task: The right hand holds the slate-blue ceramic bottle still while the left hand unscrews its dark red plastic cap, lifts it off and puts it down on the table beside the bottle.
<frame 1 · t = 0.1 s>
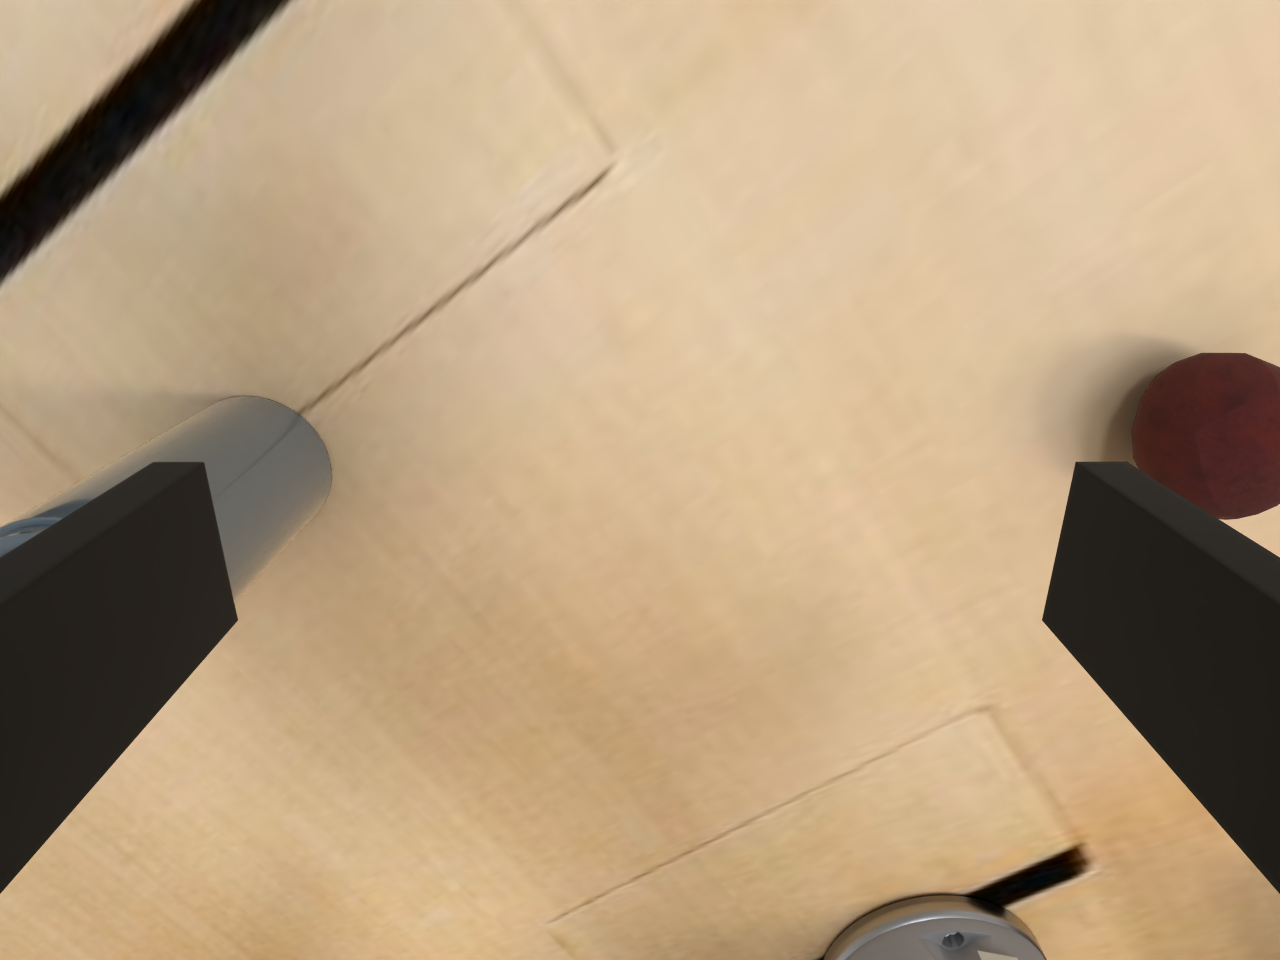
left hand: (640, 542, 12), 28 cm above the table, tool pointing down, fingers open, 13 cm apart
bottle: (259, 465, 42), on the table
potato: (1173, 410, 41), on the table
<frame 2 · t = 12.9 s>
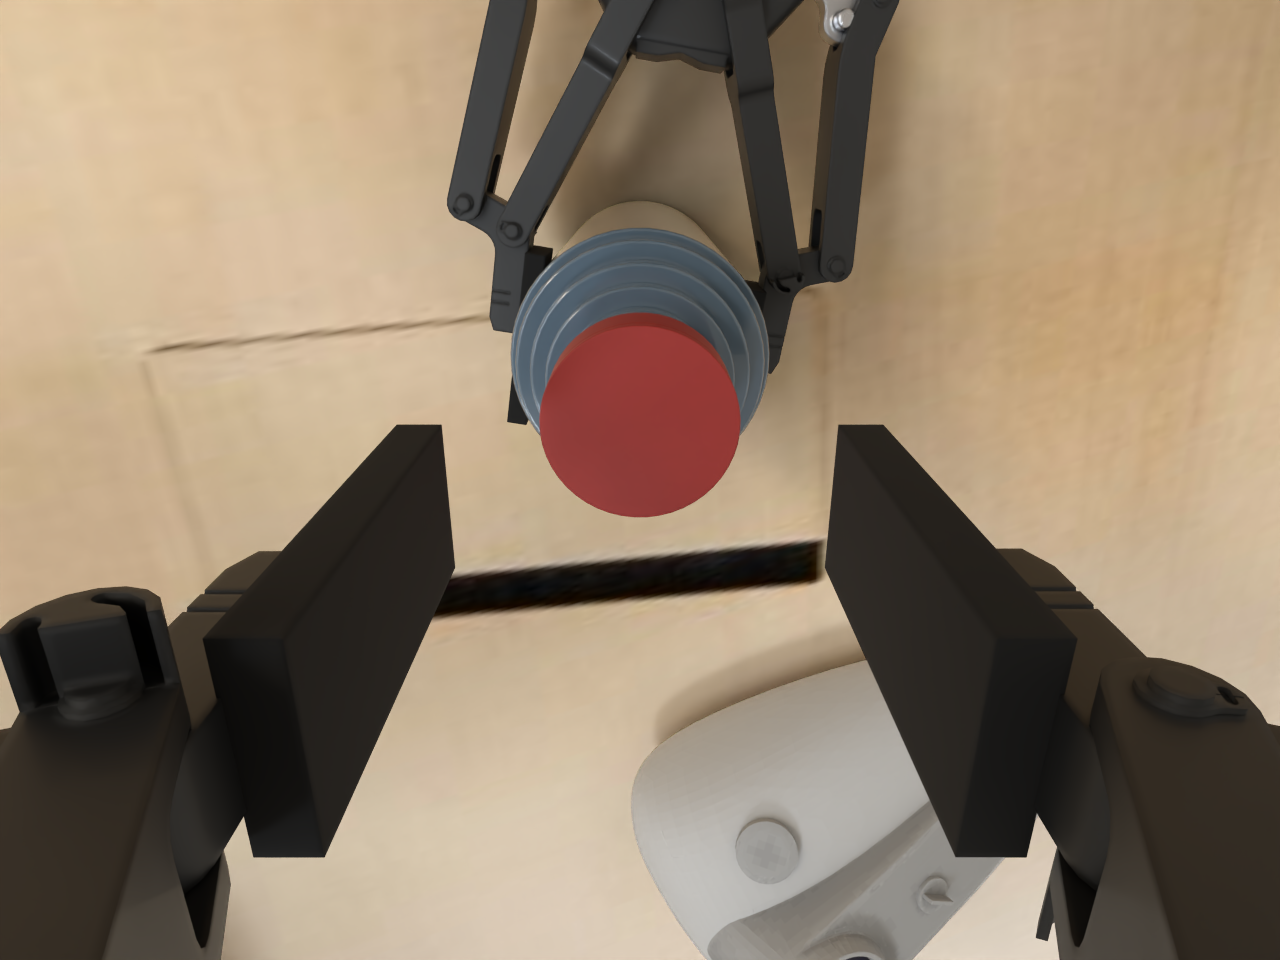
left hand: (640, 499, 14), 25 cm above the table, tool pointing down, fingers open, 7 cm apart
right hand: (621, 427, 33), fingers closed on bottle, 7 cm apart
bottle: (639, 286, 37), on the table, touching right hand
projector: (845, 747, 47), on the table
cap: (639, 421, 18), point 20 cm above the table, screwed on, not yet turned
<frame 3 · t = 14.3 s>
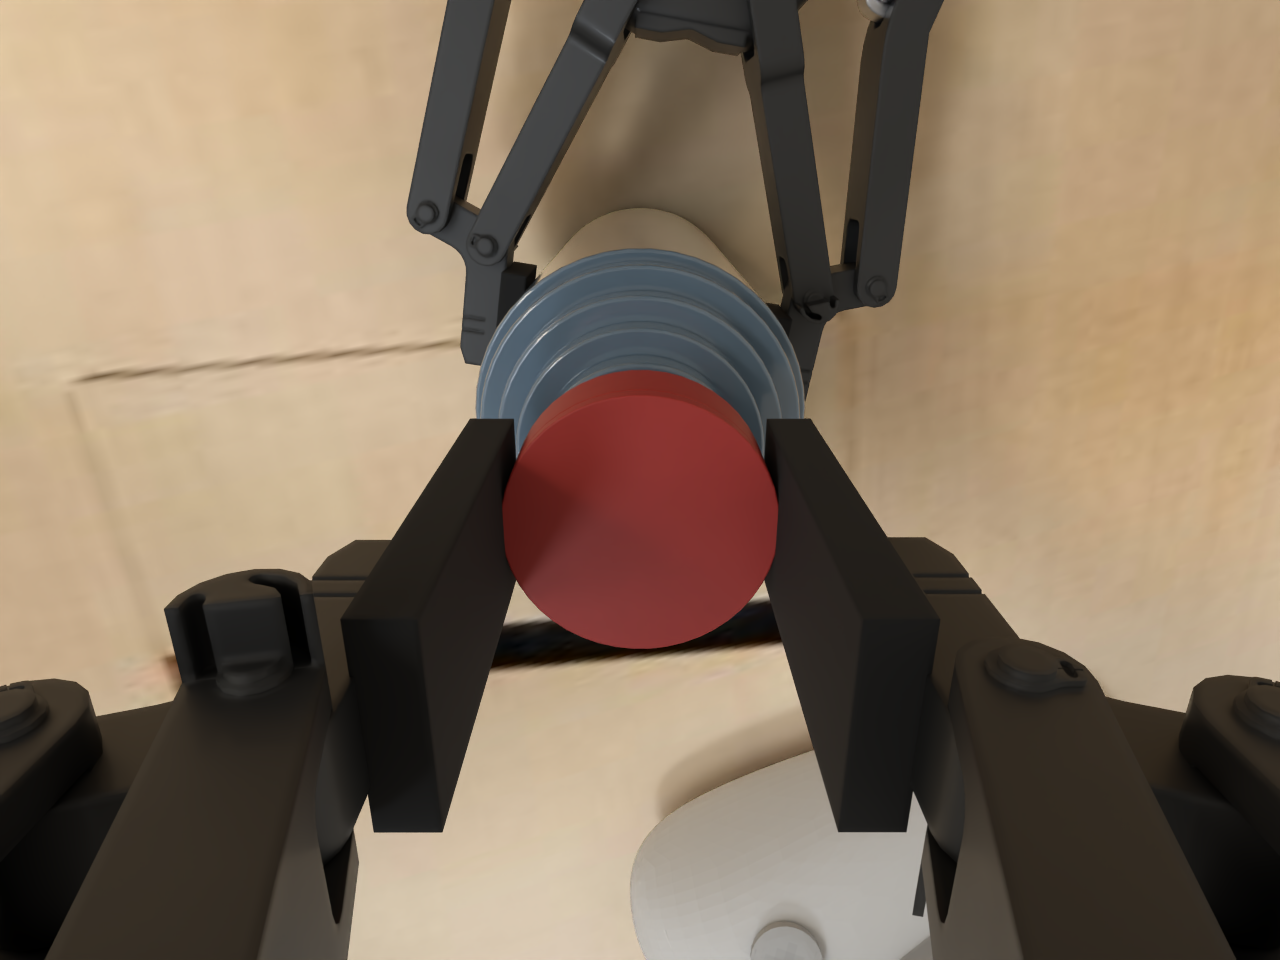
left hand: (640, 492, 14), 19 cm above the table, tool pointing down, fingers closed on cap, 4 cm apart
right hand: (618, 475, 28), fingers closed on bottle, 7 cm apart
bottle: (640, 306, 32), on the table, touching right hand
projector: (870, 818, 42), on the table
cap: (640, 522, 13), point 20 cm above the table, screwed on, not yet turned, touching left hand
when the left hand's fingers open (1 cm above the table, at t = 30.4 s): cap drops 1 cm, point 1 cm above the table.
when the right hand's fingers open (6 cm above the table, at t = 31.6 s): bottle stays where it is, on the table.
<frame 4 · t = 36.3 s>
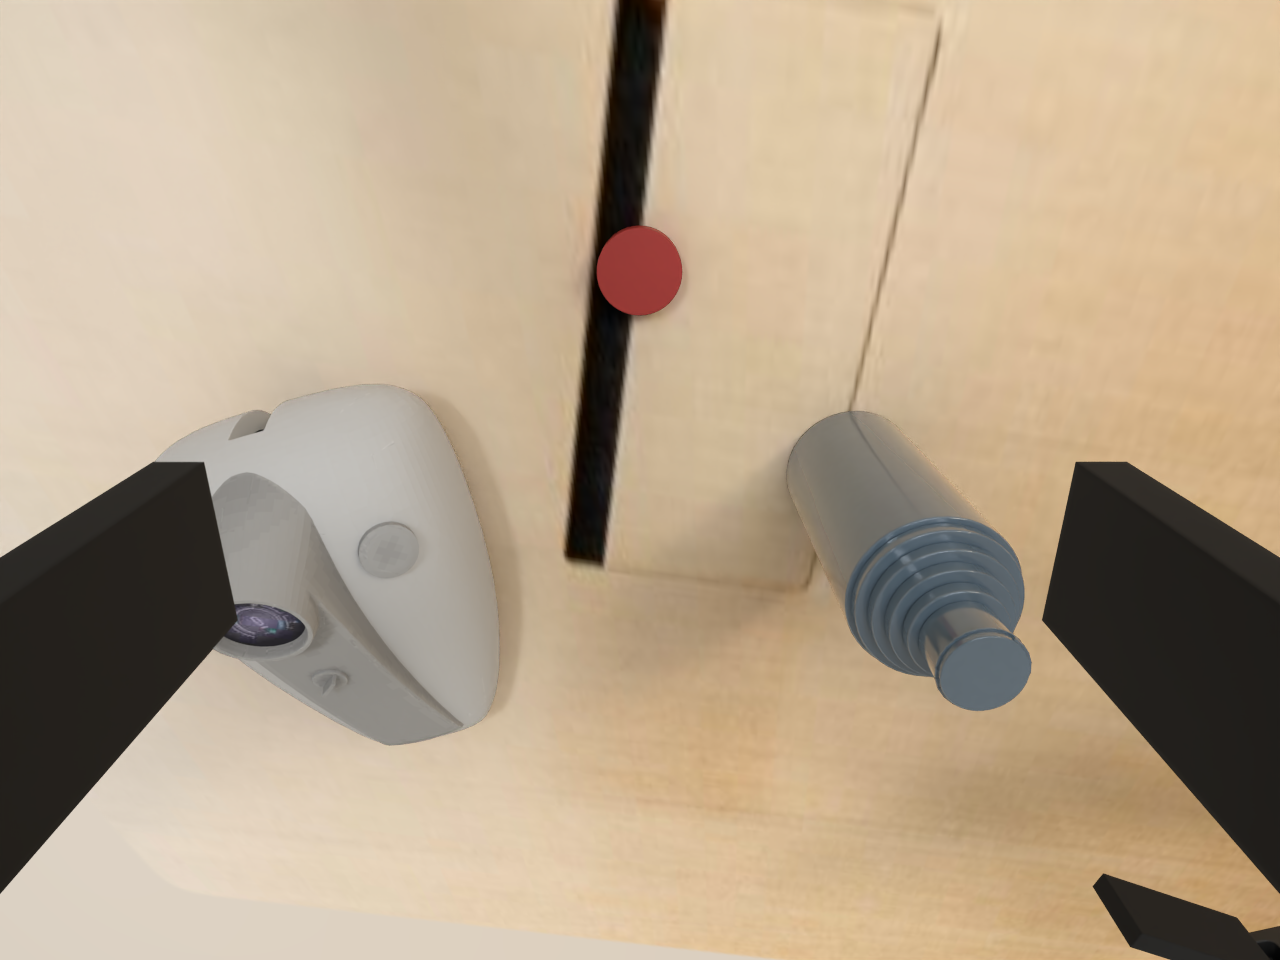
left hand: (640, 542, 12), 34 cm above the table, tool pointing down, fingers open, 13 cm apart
bottle: (849, 471, 48), on the table
projector: (384, 558, 50), on the table
cap: (639, 271, 42), point 1 cm above the table, off its thread
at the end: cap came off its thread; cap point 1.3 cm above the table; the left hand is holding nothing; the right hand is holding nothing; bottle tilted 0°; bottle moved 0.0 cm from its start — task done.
